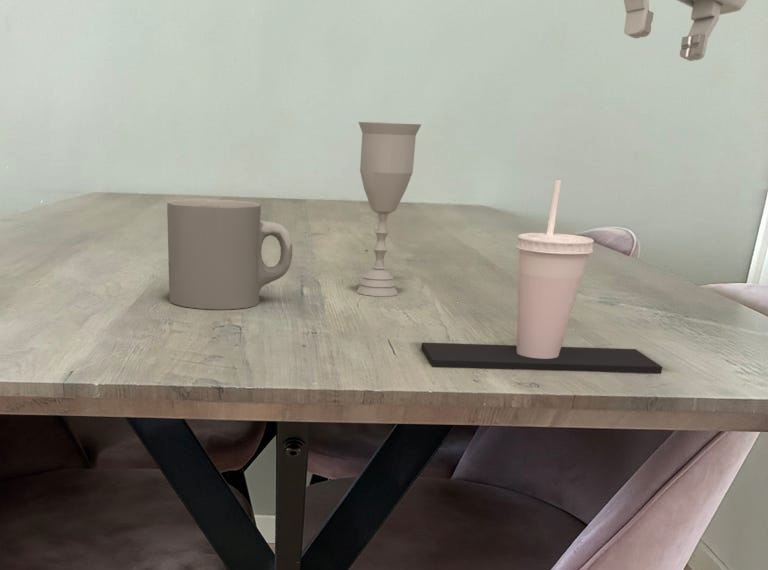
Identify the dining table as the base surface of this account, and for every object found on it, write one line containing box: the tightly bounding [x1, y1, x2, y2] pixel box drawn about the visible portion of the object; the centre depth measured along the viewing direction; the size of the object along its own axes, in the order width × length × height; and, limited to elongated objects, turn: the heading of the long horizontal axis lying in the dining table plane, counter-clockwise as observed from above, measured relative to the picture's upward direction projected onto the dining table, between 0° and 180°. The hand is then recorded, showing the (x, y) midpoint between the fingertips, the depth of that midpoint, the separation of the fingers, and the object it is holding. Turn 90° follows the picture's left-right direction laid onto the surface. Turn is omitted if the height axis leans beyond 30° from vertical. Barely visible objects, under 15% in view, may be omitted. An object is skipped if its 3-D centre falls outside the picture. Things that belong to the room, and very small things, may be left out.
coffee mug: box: [166, 198, 293, 311], centre depth 104 cm, size 13×10×10 cm
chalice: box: [355, 121, 422, 297], centre depth 111 cm, size 7×7×18 cm
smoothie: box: [515, 179, 595, 359], centre depth 82 cm, size 6×6×14 cm
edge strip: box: [420, 342, 663, 375], centre depth 85 cm, size 20×7×1 cm, turn 91°
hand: (664, 47), depth 88 cm, fingers open, 8 cm apart
